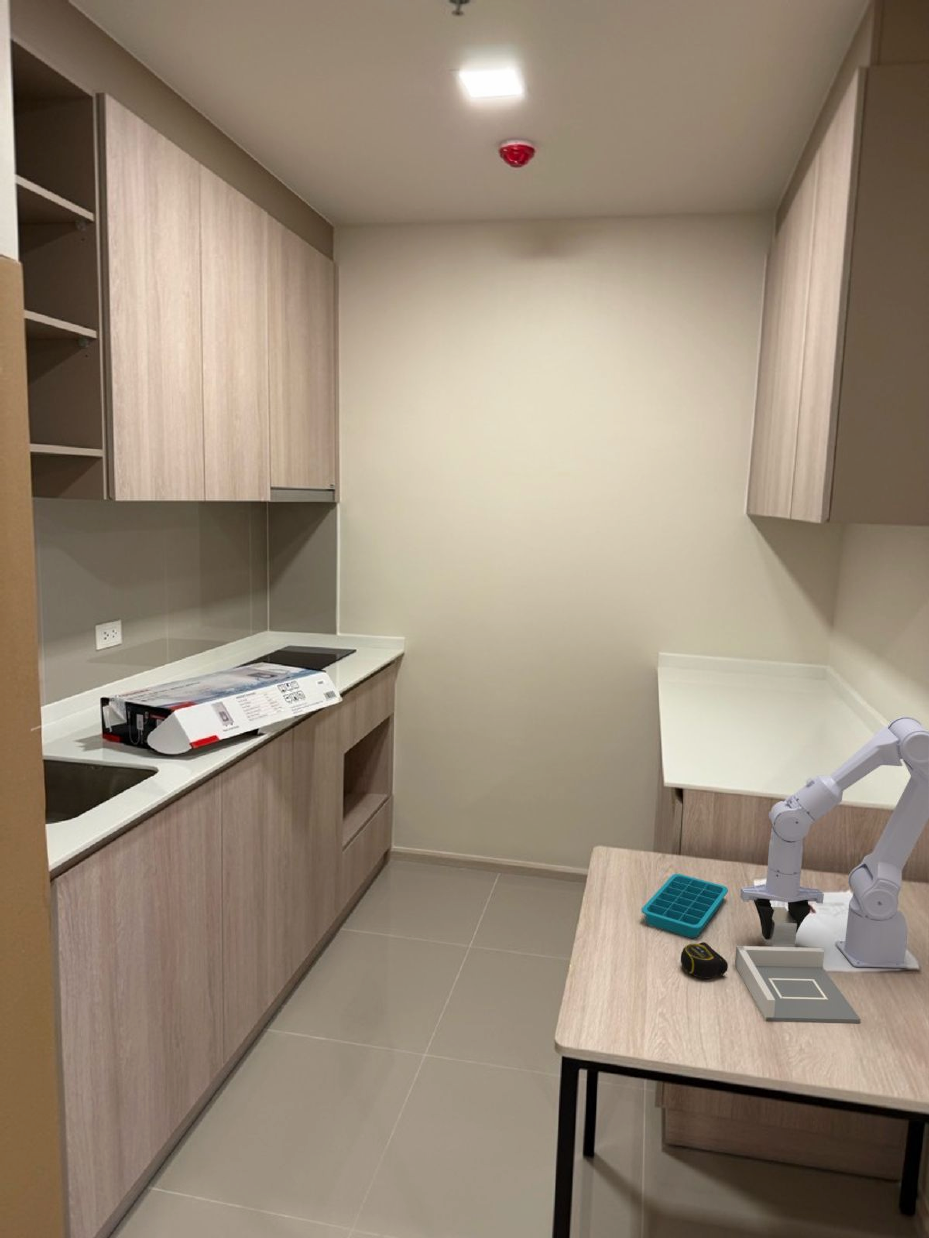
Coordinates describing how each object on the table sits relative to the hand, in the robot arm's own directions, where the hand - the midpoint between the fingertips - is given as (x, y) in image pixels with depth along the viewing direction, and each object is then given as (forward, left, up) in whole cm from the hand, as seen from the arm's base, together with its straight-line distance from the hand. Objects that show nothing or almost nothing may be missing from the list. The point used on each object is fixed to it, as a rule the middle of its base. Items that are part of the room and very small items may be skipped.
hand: (777, 936), depth 160 cm
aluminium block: (0, 0, -2) cm, 2 cm away
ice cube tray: (+14, -12, -2) cm, 19 cm away
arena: (+2, +15, -2) cm, 15 cm away
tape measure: (+16, +9, -2) cm, 18 cm away
